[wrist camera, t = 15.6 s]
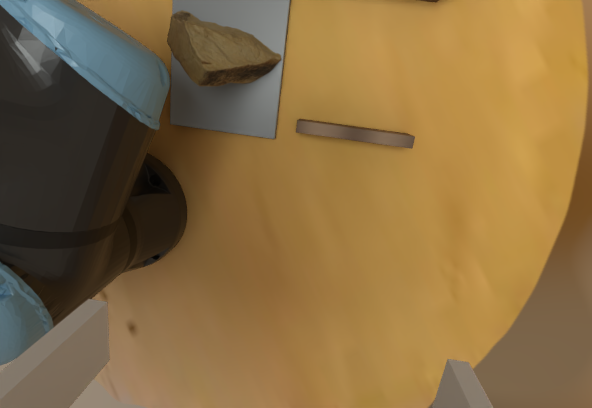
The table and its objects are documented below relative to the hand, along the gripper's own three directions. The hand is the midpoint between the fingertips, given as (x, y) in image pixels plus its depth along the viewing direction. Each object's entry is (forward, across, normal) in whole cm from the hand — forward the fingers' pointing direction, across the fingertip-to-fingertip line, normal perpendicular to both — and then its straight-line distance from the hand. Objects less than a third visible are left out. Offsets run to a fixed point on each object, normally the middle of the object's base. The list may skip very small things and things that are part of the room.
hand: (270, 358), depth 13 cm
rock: (+28, -11, +14) cm, 33 cm away
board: (+29, -10, +14) cm, 34 cm away
